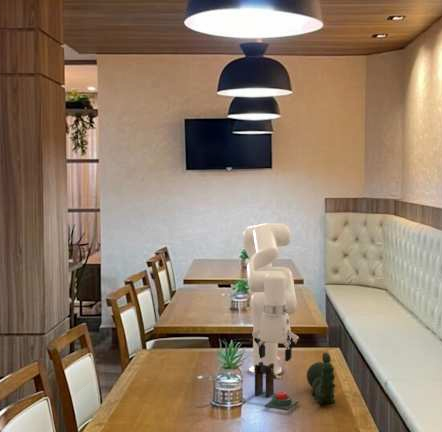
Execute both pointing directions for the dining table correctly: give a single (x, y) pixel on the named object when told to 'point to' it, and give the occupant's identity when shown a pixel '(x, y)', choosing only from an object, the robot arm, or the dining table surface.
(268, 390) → the lever bracket
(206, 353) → the dining table surface
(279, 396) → the button
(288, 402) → the console
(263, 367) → the press lever
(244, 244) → the robot arm
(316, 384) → the green bumpy upright shape
